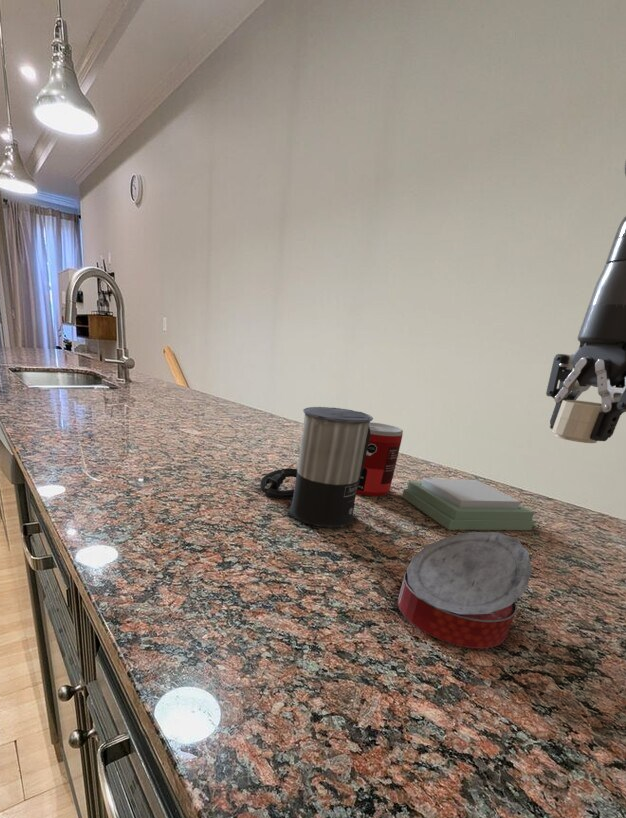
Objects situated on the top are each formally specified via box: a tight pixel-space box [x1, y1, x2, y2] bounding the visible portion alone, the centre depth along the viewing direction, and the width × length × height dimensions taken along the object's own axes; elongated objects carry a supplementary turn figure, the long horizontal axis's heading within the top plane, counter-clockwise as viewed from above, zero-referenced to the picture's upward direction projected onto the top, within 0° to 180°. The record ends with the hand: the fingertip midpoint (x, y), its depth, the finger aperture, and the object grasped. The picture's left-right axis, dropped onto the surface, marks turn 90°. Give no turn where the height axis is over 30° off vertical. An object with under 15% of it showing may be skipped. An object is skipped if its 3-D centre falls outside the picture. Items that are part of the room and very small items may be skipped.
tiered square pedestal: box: [421, 477, 521, 509], centre depth 69 cm, size 10×10×2 cm
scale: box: [401, 480, 535, 531], centre depth 70 cm, size 14×13×3 cm
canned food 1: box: [356, 421, 404, 497], centre depth 75 cm, size 8×8×11 cm
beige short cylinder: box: [551, 399, 603, 444], centre depth 62 cm, size 6×6×5 cm
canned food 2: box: [397, 531, 533, 649], centre depth 42 cm, size 11×10×10 cm
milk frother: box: [259, 406, 374, 529], centre depth 64 cm, size 14×16×15 cm
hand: (576, 434), depth 63 cm, fingers closed on beige short cylinder, 6 cm apart
